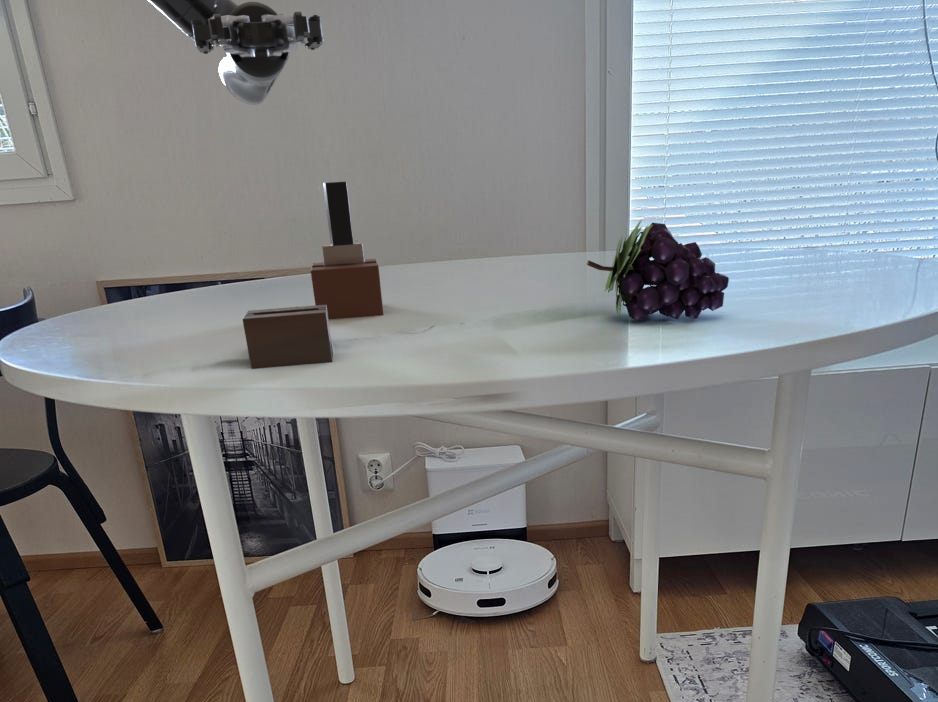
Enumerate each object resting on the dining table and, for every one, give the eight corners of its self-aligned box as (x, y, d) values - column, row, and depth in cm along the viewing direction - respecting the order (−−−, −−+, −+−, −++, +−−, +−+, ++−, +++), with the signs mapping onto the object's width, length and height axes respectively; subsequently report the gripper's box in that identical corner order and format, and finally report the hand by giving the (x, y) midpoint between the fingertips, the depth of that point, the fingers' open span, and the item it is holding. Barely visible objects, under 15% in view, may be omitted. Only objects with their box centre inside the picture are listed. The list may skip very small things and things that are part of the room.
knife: (371, 321, 96) (355, 180, 89) (331, 325, 95) (313, 183, 89) (370, 317, 99) (355, 180, 92) (332, 320, 98) (314, 183, 91)
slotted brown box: (389, 331, 94) (382, 265, 91) (316, 337, 93) (306, 270, 90) (385, 320, 101) (379, 258, 98) (318, 326, 101) (309, 263, 97)
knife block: (333, 370, 77) (325, 312, 75) (252, 377, 76) (242, 318, 74) (333, 359, 82) (326, 304, 79) (257, 366, 81) (247, 310, 78)
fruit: (711, 353, 89) (572, 320, 90) (707, 319, 97) (580, 289, 98) (747, 252, 83) (597, 217, 83) (740, 224, 91) (603, 192, 91)
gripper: (190, 9, 102) (183, -18, 88) (310, 6, 105) (321, -21, 91) (204, 83, 106) (199, 69, 92) (319, 78, 108) (331, 63, 95)
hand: (259, 24), depth 91 cm, fingers open, 8 cm apart
